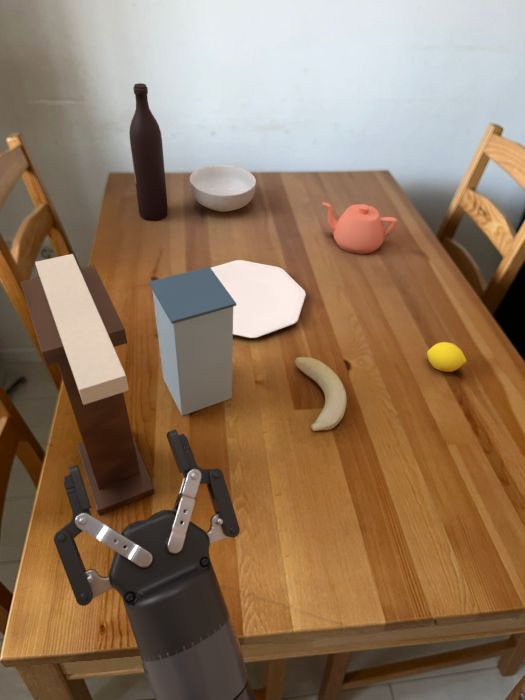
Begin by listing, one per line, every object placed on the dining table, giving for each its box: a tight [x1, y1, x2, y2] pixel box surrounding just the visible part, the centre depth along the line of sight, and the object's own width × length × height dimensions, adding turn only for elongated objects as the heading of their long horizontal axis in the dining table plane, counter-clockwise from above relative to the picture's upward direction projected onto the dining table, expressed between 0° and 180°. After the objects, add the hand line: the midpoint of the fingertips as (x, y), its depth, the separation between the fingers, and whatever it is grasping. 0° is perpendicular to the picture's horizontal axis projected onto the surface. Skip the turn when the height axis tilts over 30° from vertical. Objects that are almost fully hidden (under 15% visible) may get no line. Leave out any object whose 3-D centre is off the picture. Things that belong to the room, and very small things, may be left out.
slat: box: [34, 253, 130, 405], centre depth 50 cm, size 4×20×2 cm, turn 27°
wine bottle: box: [128, 82, 169, 221], centre depth 118 cm, size 7×7×30 cm
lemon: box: [426, 341, 467, 373], centre depth 93 cm, size 7×5×5 cm
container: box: [148, 266, 236, 417], centre depth 81 cm, size 10×10×21 cm
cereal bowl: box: [189, 164, 257, 213], centre depth 131 cm, size 17×17×7 cm
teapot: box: [321, 201, 399, 255], centre depth 121 cm, size 12×18×10 cm
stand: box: [20, 264, 156, 517], centre depth 65 cm, size 8×12×32 cm, turn 27°
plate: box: [210, 259, 307, 339], centre depth 105 cm, size 24×24×2 cm
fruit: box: [294, 356, 348, 432], centre depth 87 cm, size 7×15×3 cm, turn 9°
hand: (123, 448), depth 44 cm, fingers open, 8 cm apart
